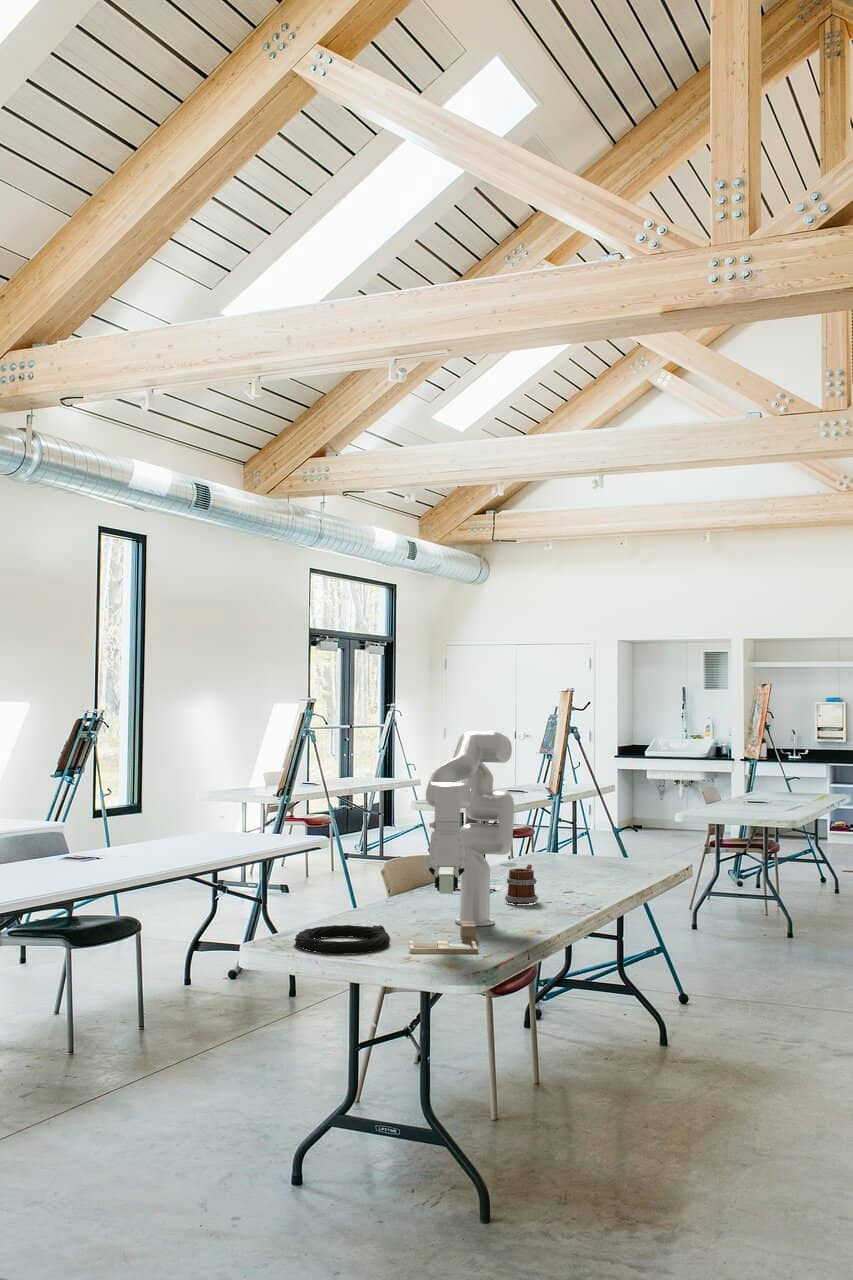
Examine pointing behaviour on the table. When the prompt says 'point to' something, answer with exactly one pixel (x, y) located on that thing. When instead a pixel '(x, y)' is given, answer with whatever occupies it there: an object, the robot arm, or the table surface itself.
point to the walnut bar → (467, 931)
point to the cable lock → (374, 933)
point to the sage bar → (446, 882)
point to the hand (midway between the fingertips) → (446, 890)
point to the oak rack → (442, 947)
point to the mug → (521, 886)
